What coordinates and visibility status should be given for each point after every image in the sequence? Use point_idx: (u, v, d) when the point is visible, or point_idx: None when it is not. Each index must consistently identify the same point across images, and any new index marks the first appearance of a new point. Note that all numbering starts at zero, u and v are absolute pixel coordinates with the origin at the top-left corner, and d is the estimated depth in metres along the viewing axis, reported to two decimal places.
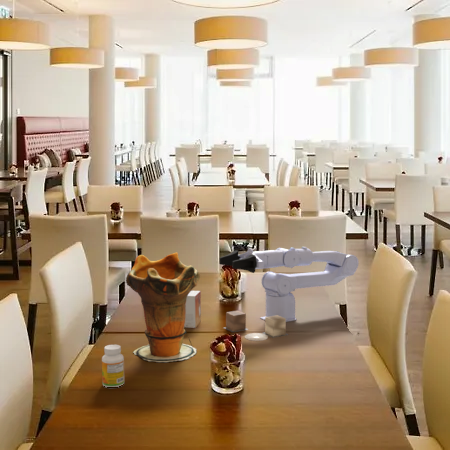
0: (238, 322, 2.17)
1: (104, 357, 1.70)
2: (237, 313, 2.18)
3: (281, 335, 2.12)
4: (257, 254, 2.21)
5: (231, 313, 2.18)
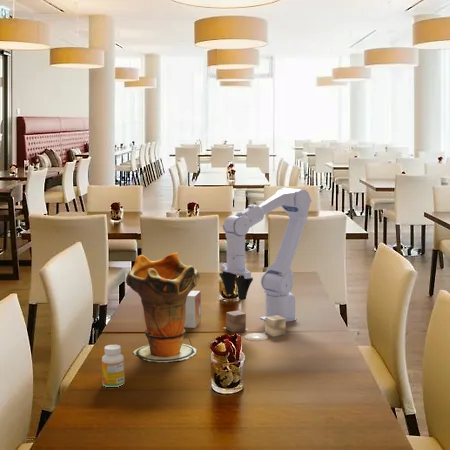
0: (238, 322, 2.17)
1: (104, 357, 1.70)
2: (237, 313, 2.18)
3: (281, 335, 2.12)
4: (232, 265, 2.14)
5: (231, 313, 2.18)
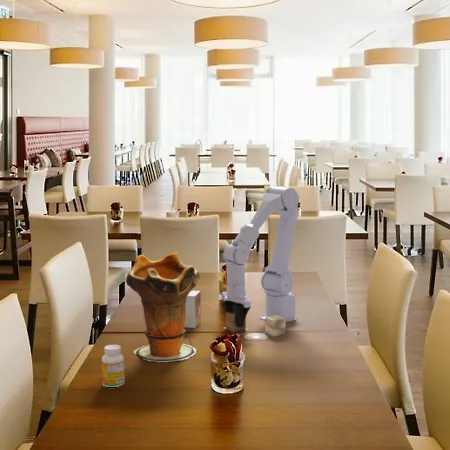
0: None
1: (104, 357, 1.70)
2: None
3: (281, 335, 2.12)
4: (232, 294, 2.15)
5: (231, 313, 2.18)
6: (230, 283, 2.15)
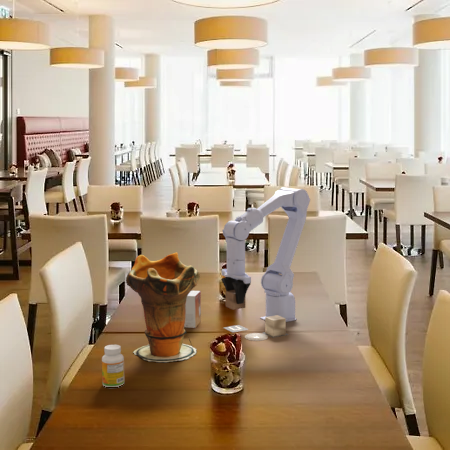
0: None
1: (104, 357, 1.70)
2: None
3: (281, 335, 2.12)
4: (232, 270, 2.14)
5: (231, 292, 2.17)
6: (230, 259, 2.14)
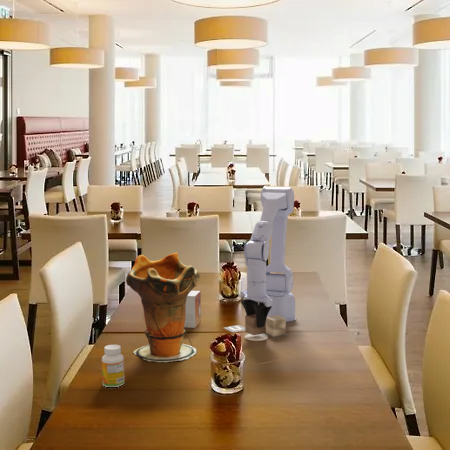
0: None
1: (104, 357, 1.70)
2: None
3: (281, 335, 2.12)
4: (253, 293, 2.06)
5: (251, 316, 2.09)
6: (256, 281, 2.05)
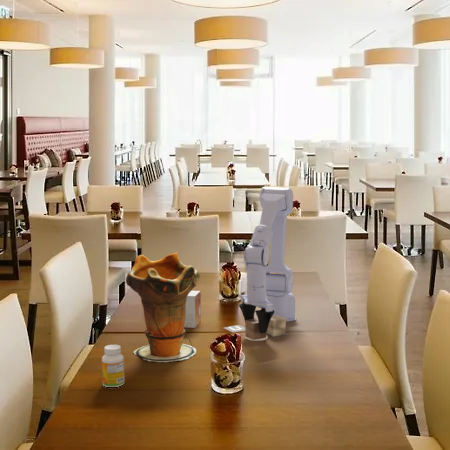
0: (258, 331, 2.08)
1: (104, 357, 1.70)
2: (257, 321, 2.09)
3: (281, 335, 2.12)
4: (253, 297, 2.06)
5: (251, 321, 2.09)
6: (256, 286, 2.05)
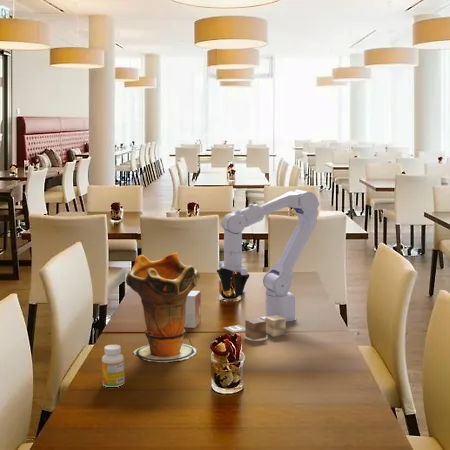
0: (258, 331, 2.08)
1: (104, 357, 1.70)
2: (257, 321, 2.09)
3: (281, 335, 2.12)
4: (229, 262, 2.19)
5: (251, 321, 2.09)
6: (225, 251, 2.20)
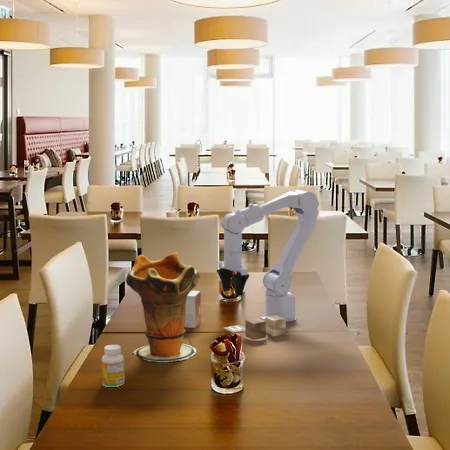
0: (258, 331, 2.08)
1: (104, 357, 1.70)
2: (257, 321, 2.09)
3: (281, 335, 2.12)
4: (229, 262, 2.19)
5: (251, 321, 2.09)
6: (225, 251, 2.20)
